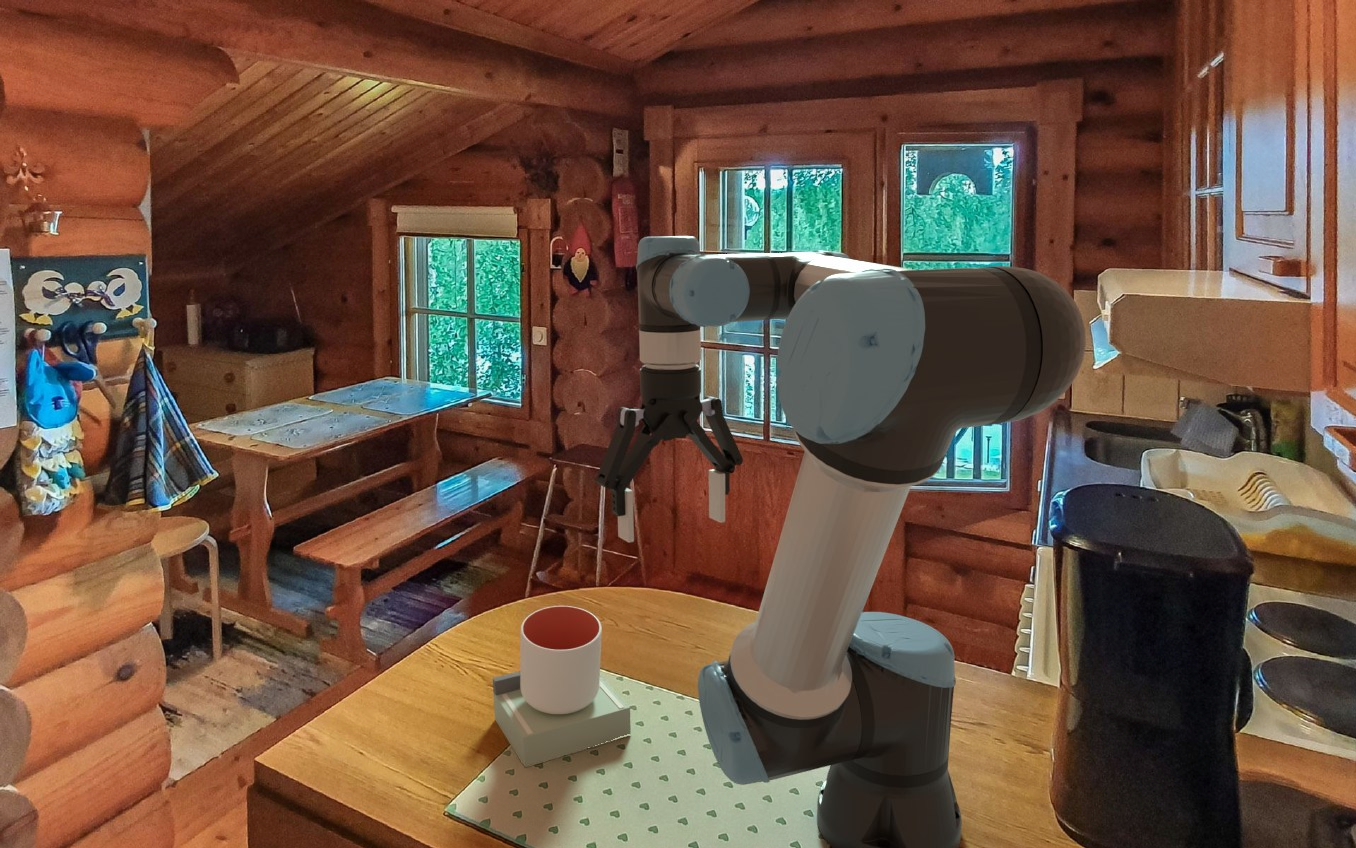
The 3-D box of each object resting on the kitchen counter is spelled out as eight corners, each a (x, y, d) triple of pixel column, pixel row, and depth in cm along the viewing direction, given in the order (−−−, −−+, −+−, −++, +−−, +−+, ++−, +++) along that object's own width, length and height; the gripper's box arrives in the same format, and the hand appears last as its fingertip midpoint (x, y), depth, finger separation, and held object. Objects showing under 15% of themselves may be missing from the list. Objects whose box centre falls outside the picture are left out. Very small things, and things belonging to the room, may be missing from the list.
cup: (608, 677, 120) (611, 612, 116) (585, 726, 111) (588, 657, 107) (536, 664, 122) (536, 599, 118) (508, 711, 112) (508, 643, 109)
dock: (630, 735, 115) (629, 693, 114) (524, 767, 109) (522, 722, 107) (593, 693, 126) (592, 653, 124) (495, 719, 119) (492, 678, 118)
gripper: (735, 352, 121) (735, 505, 125) (564, 369, 108) (571, 539, 113) (770, 358, 115) (768, 519, 119) (592, 378, 102) (598, 557, 106)
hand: (672, 529), depth 116 cm, fingers open, 13 cm apart
